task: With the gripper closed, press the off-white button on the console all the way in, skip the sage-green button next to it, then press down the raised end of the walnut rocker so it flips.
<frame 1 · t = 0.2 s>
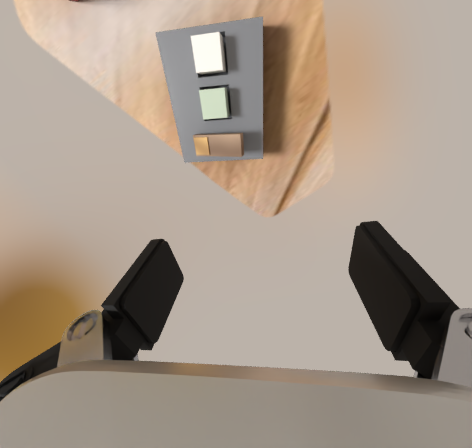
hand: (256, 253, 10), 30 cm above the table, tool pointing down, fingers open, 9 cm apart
rocker: (218, 145, 31), point 6 cm above the table, hinge at 14.0°
white button: (210, 55, 26), point 4 cm above the table, slide at 0.0 cm
console: (220, 102, 32), on the table
sage button: (215, 103, 29), point 4 cm above the table, slide at 0.0 cm
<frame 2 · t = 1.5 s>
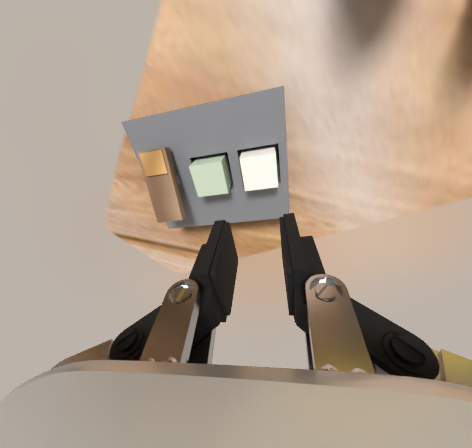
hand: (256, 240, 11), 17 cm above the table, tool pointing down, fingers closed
rocker: (163, 186, 22), point 6 cm above the table, hinge at 14.0°
white button: (259, 168, 21), point 4 cm above the table, slide at 0.0 cm
console: (219, 164, 26), on the table
sage button: (212, 175, 22), point 4 cm above the table, slide at 0.0 cm
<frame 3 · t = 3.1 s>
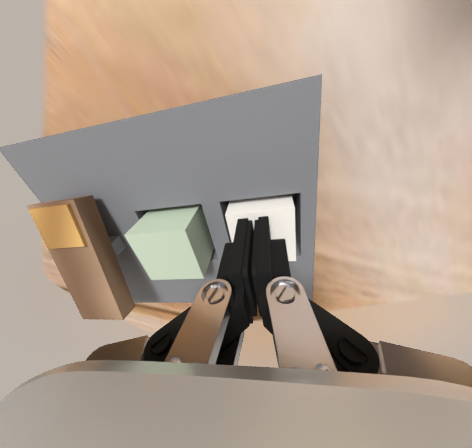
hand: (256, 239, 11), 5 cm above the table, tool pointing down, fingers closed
rocker: (86, 262, 12), point 6 cm above the table, hinge at 14.0°
white button: (262, 223, 12), point 3 cm above the table, slide at 1.2 cm, touching gripper
console: (196, 207, 16), on the table
sage button: (176, 240, 12), point 4 cm above the table, slide at 0.0 cm
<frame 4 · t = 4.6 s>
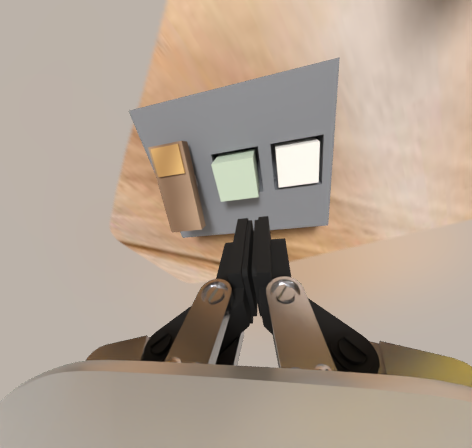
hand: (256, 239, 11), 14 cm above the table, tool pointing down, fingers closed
rocker: (178, 189, 18), point 6 cm above the table, hinge at 14.0°
white button: (295, 161, 19), point 3 cm above the table, slide at 1.6 cm
console: (242, 161, 22), on the table
sage button: (237, 175, 18), point 4 cm above the table, slide at 0.0 cm
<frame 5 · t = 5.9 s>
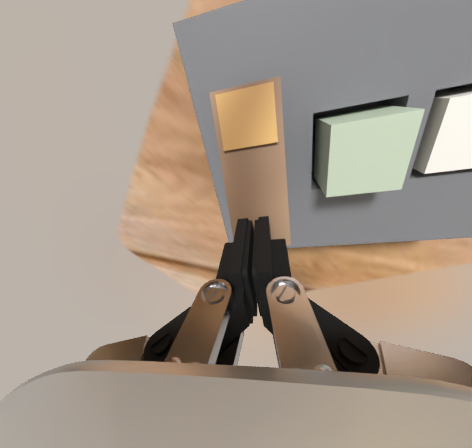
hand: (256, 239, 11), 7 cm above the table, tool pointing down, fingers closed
rocker: (254, 175, 10), point 6 cm above the table, hinge at 14.0°, touching gripper
white button: (453, 128, 11), point 3 cm above the table, slide at 1.6 cm
console: (332, 136, 14), on the table
sage button: (355, 151, 11), point 4 cm above the table, slide at 0.0 cm
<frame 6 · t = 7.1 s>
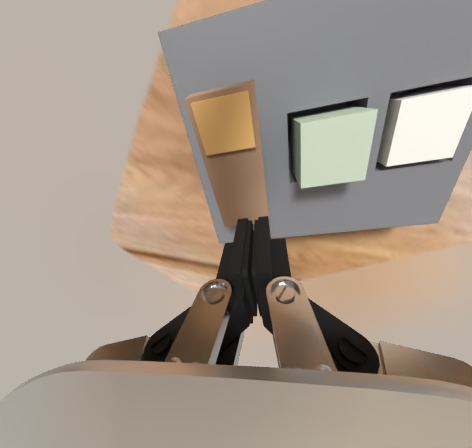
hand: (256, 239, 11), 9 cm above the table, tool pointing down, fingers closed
rocker: (236, 169, 11), point 6 cm above the table, hinge at -9.3°
white button: (410, 126, 12), point 3 cm above the table, slide at 1.6 cm
console: (309, 134, 16), on the table
sage button: (326, 147, 12), point 4 cm above the table, slide at 0.0 cm
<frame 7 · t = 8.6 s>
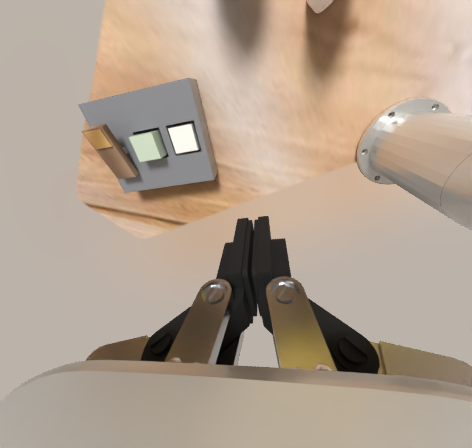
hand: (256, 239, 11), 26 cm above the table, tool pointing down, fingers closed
rocker: (112, 154, 30), point 6 cm above the table, hinge at -15.1°
white button: (186, 137, 30), point 3 cm above the table, slide at 1.6 cm
console: (161, 140, 34), on the table
sage button: (150, 145, 30), point 4 cm above the table, slide at 0.0 cm
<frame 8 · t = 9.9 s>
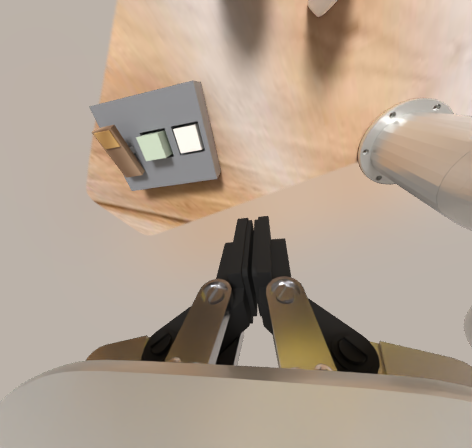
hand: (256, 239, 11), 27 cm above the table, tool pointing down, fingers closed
rocker: (120, 153, 31), point 6 cm above the table, hinge at -16.1°
white button: (190, 137, 32), point 3 cm above the table, slide at 1.6 cm
console: (167, 140, 35), on the table
sage button: (156, 145, 31), point 4 cm above the table, slide at 0.0 cm
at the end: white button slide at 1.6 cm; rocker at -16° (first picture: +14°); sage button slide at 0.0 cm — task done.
